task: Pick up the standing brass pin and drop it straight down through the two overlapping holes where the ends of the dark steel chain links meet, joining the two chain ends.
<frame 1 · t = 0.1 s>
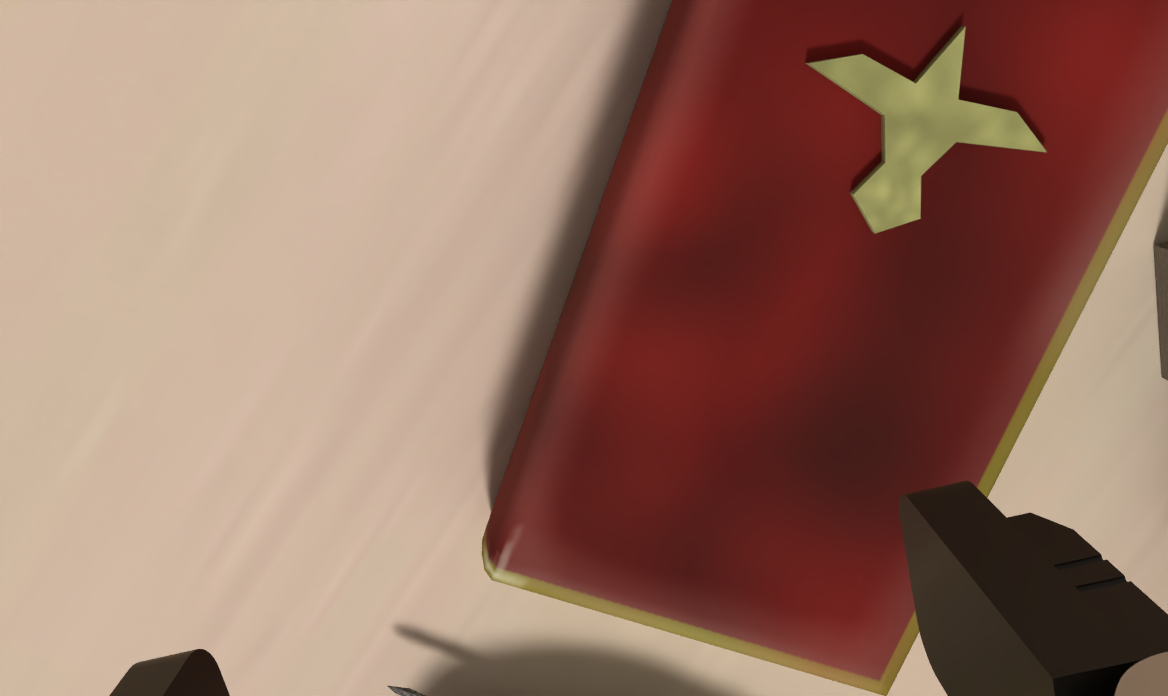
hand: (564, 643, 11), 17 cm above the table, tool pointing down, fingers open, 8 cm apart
hardcover book: (801, 249, 28), on the table
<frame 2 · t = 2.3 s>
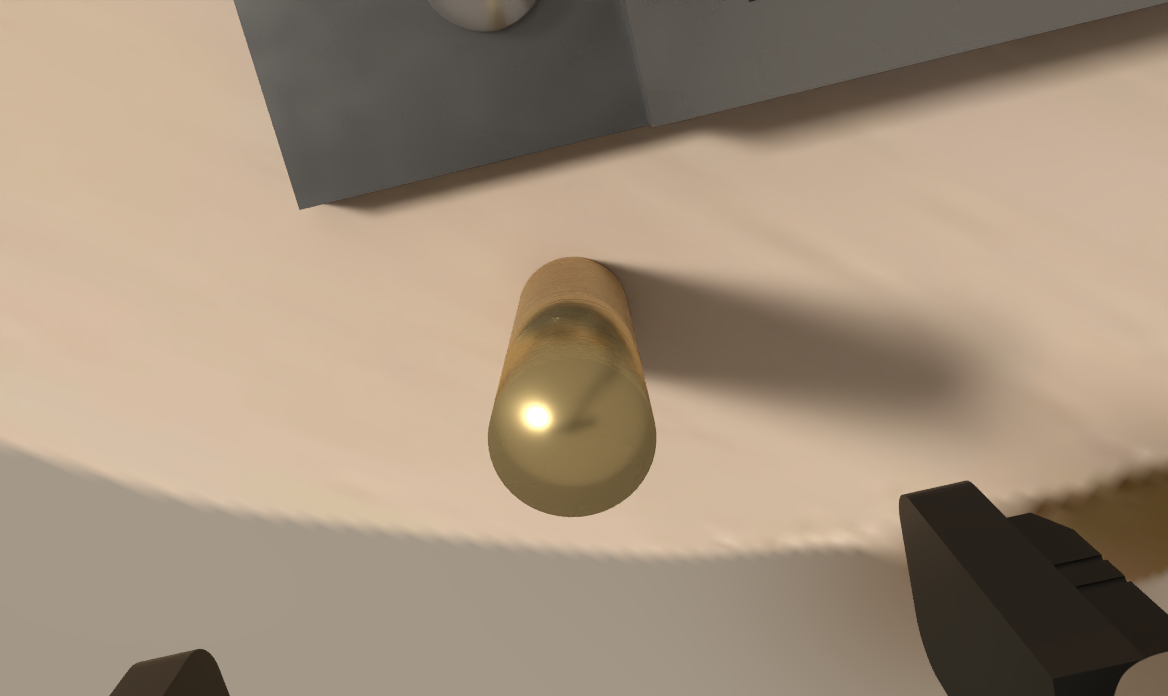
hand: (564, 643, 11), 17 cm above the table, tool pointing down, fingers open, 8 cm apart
brass pin: (573, 310, 27), on the table
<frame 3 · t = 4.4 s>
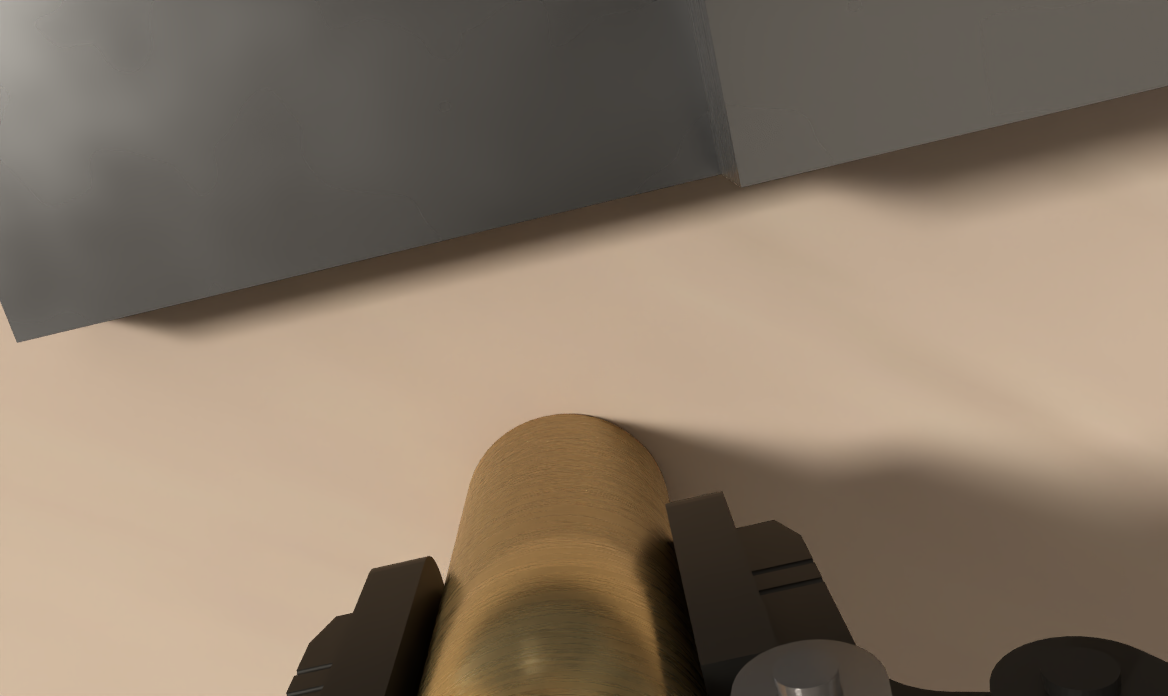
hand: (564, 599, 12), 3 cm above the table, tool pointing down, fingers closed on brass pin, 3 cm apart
brass pin: (567, 509, 15), on the table, touching gripper
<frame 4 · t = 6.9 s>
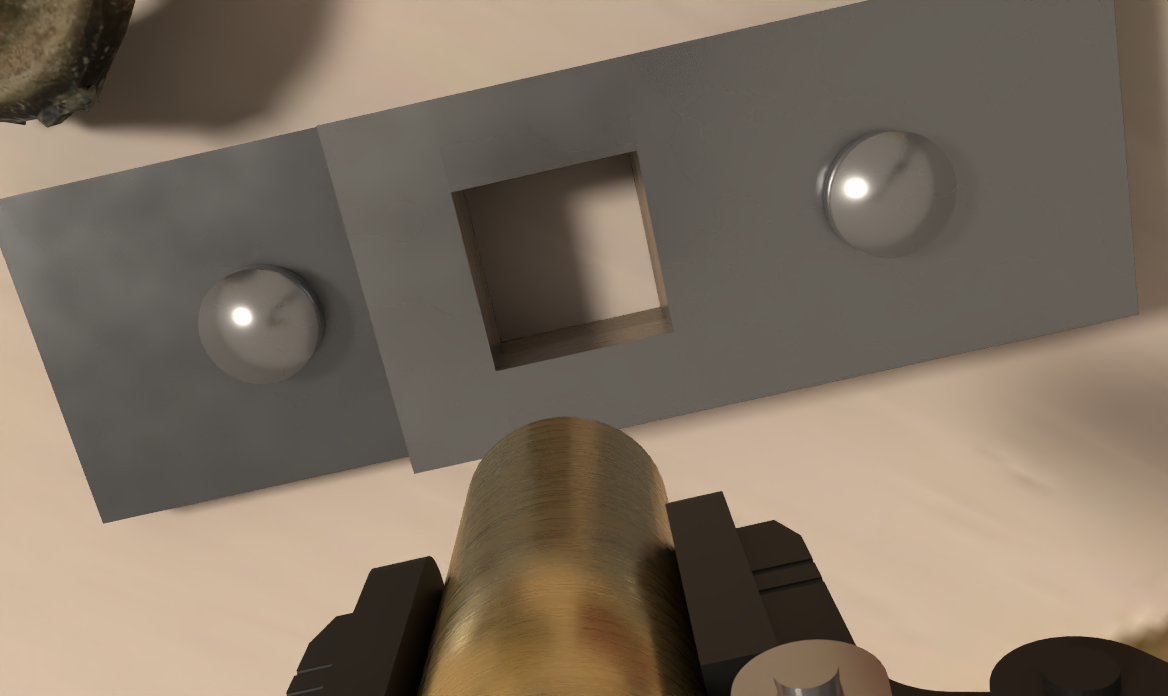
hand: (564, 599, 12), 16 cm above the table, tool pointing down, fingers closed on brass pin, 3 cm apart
brass pin: (567, 512, 15), point 14 cm above the table, touching gripper
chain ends: (562, 245, 27), on the table
when the fingers open (5 cm above the table, at t = 9.5 s): brass pin drops 2 cm, resting in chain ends.
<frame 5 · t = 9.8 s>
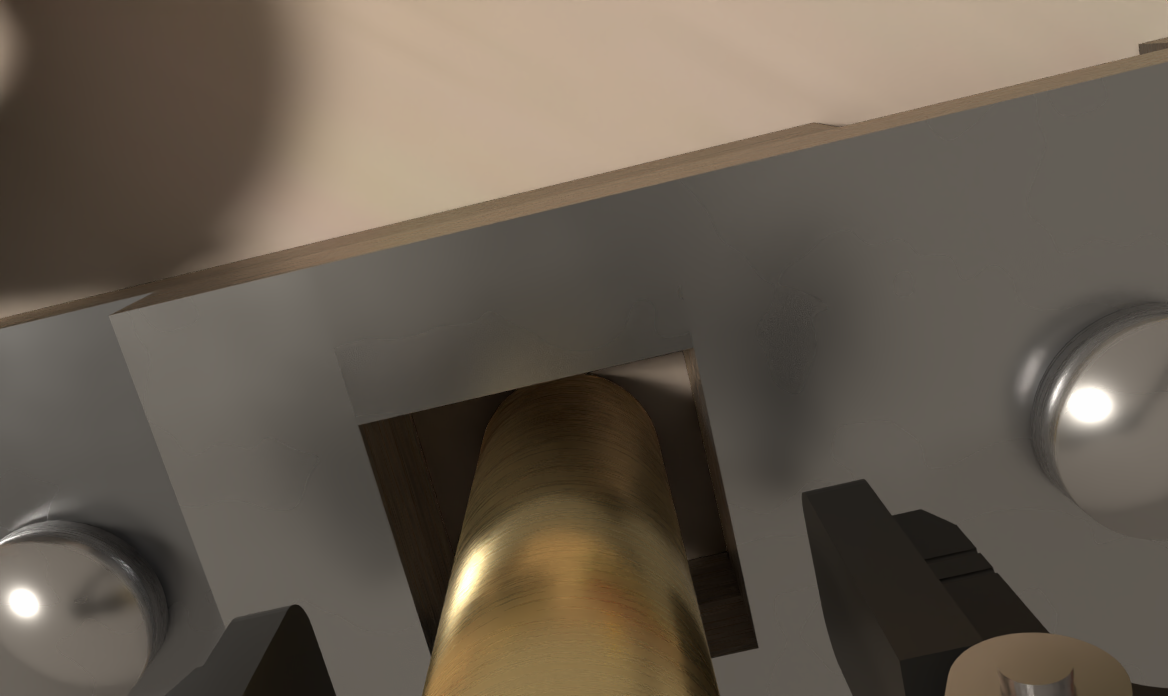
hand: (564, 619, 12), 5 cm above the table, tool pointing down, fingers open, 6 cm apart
brass pin: (570, 457, 17), resting in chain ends
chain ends: (566, 460, 17), on the table
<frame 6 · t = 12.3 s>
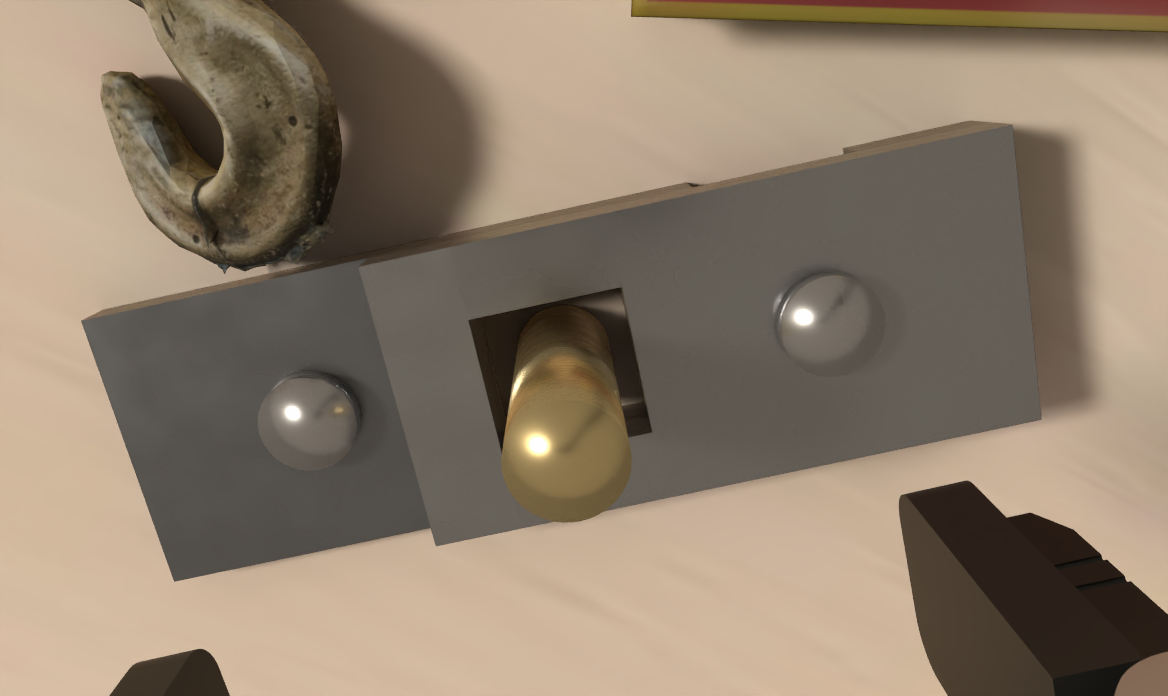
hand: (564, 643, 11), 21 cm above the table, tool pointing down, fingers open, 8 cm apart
brass pin: (563, 349, 33), resting in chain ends
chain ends: (561, 351, 33), on the table
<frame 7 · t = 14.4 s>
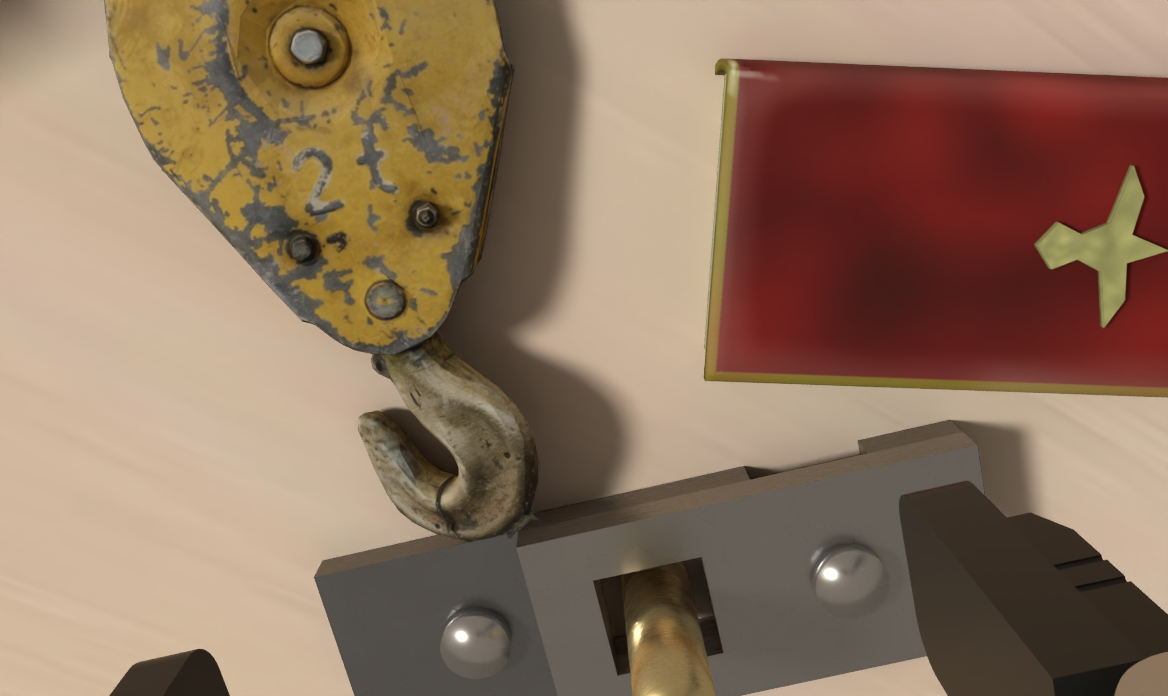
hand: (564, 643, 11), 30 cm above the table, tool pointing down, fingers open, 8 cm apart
brass pin: (654, 581, 44), resting in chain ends
hardcover book: (955, 221, 41), on the table
pulley block: (369, 189, 40), on the table
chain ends: (653, 582, 44), on the table
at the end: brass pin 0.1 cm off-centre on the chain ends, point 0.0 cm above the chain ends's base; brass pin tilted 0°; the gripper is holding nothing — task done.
